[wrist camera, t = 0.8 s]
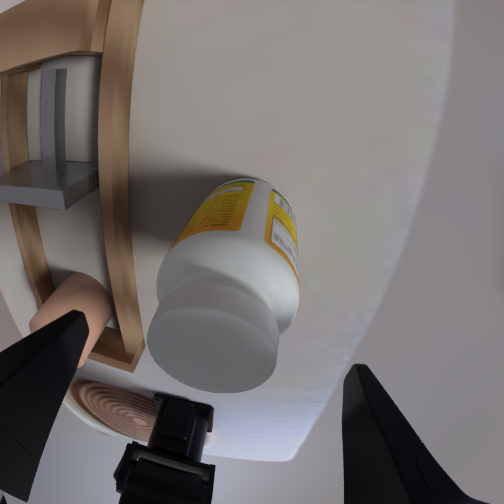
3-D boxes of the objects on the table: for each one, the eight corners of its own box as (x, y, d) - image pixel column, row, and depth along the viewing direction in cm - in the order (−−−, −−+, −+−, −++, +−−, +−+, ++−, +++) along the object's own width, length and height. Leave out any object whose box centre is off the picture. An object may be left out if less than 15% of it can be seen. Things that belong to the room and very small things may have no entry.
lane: (145, 346, 23) (129, 382, 20) (59, 319, 23) (38, 347, 20) (146, -10, 10) (109, -31, 6) (28, 22, 10) (-14, 21, 7)
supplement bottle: (311, 199, 15) (338, 331, 7) (272, 274, 18) (260, 417, 10) (217, 160, 15) (135, 257, 7) (189, 243, 18) (123, 371, 9)
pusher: (110, 180, 16) (65, 210, 12) (31, 174, 16) (-13, 199, 12) (113, 63, 12) (61, 61, 8) (29, 77, 12) (-21, 86, 8)
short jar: (118, 326, 22) (91, 375, 18) (72, 312, 23) (42, 355, 18) (109, 279, 20) (72, 330, 15) (59, 266, 20) (20, 309, 15)
